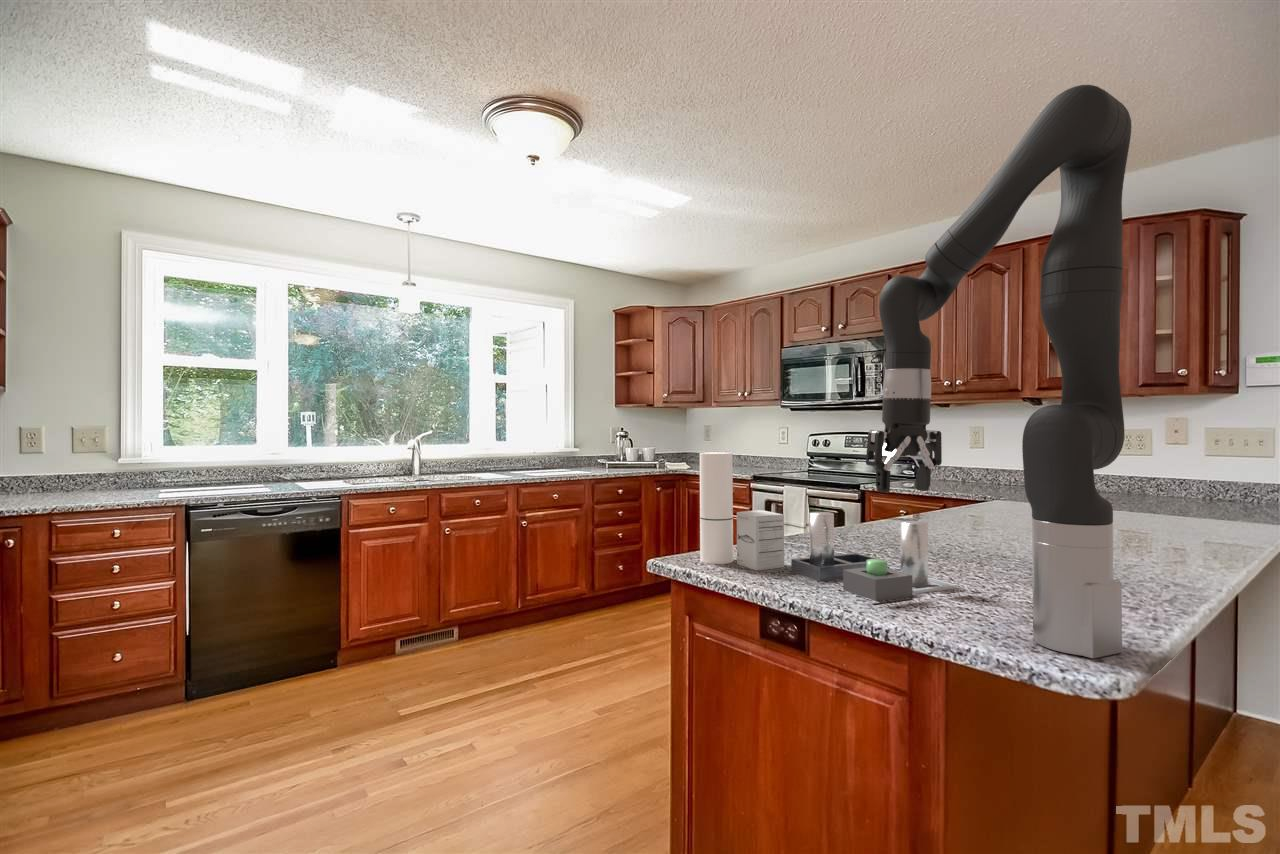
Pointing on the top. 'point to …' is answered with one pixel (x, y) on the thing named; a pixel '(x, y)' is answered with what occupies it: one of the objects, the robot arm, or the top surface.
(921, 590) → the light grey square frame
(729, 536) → the cylindrical container
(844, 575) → the block
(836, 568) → the double-well grey tray
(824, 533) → the cylinder
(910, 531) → the cylinder
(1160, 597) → the top surface
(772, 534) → the supplement box
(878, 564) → the button
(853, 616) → the top surface
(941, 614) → the top surface
